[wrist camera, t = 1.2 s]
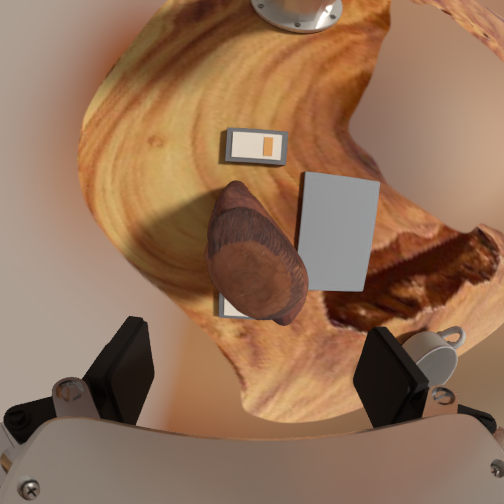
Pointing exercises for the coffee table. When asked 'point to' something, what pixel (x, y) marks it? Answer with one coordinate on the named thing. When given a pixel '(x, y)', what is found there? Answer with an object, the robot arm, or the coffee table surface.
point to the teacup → (435, 353)
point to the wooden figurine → (253, 259)
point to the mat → (337, 230)
